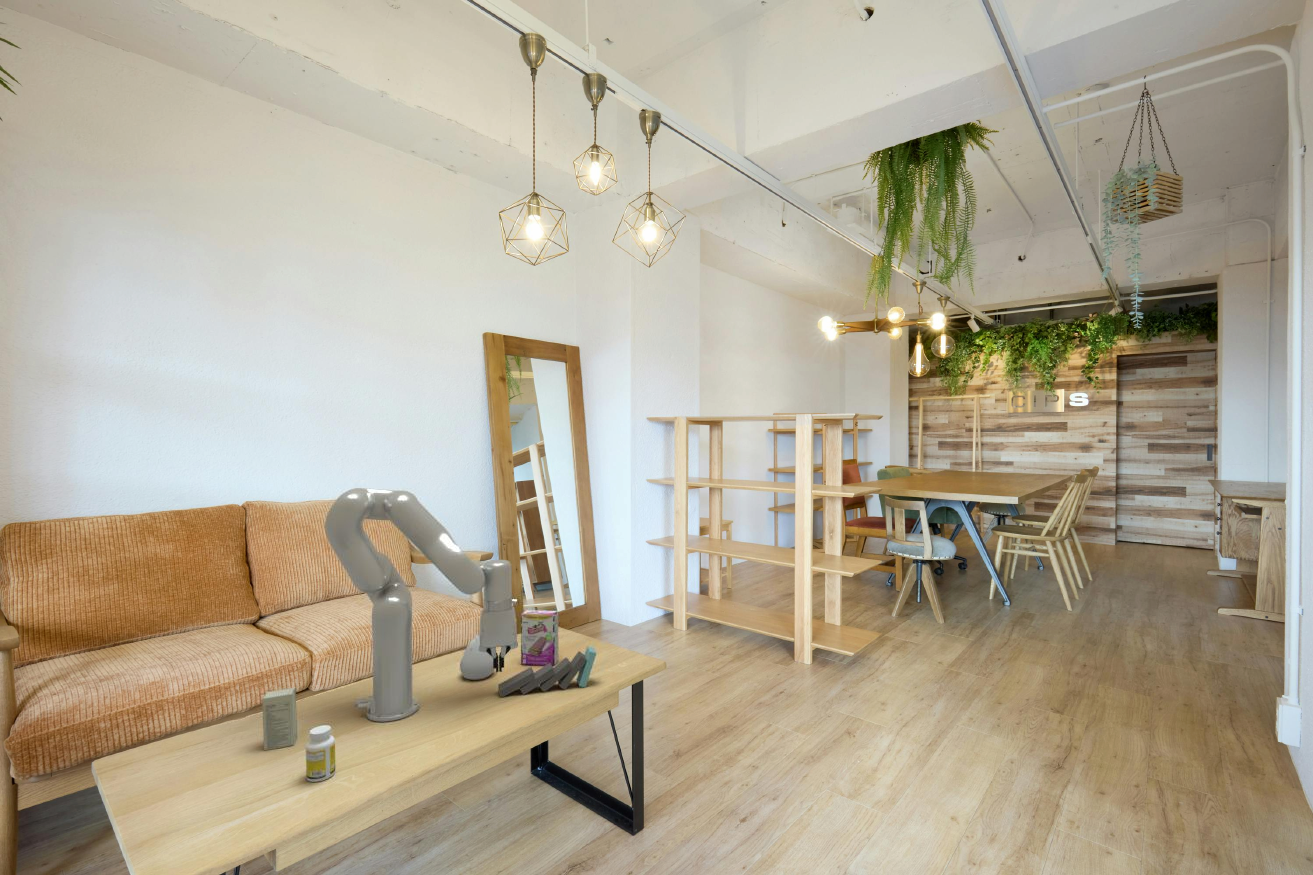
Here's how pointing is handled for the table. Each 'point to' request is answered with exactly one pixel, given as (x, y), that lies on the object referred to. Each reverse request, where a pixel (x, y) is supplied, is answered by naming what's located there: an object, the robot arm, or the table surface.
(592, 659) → the domino
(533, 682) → the domino
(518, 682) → the domino
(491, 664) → the grey teardrop lump
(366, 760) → the table surface
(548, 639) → the candy bar box
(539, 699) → the table surface
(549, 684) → the domino
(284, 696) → the skincare box
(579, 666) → the domino
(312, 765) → the supplement bottle
